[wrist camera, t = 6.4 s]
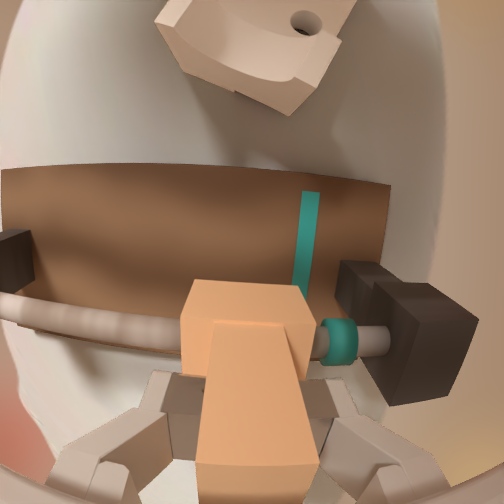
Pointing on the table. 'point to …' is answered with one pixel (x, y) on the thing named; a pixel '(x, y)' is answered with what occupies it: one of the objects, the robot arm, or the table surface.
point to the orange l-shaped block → (250, 391)
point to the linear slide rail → (220, 262)
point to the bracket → (256, 44)
